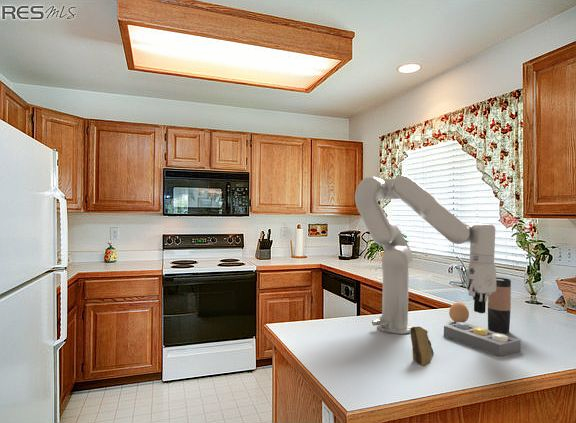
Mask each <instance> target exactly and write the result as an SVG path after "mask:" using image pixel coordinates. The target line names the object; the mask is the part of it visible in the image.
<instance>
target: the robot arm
mask: <svg viewBox="0 0 576 423" xmlns="http://www.w3.org/2000/svg"><path fill="white" fill-rule="evenodd" d="M398 199H399V200H401V201H402V202H403V203H405V204H406V205H407V206H408V207H409V208H410V209H412V211H414V212H415V213H416V214H417V215H419V216H420V217H421V218H422V219H423V220H424V221H426V222H427V223H428V224H429V225H431V227H433V228H434V229H435V230H436V231H437V232H438V233H439V234H441V235H442V236H443V237H445V239H446V240H448V241H449V242H451V243H452V244H454V245H462V244H465V243H469V264H468V267H467V273H466V274H467V275H466V290H467V291H468V295H469V296H470V297H472V299H473V304H474V305H473V311H474V312H475V313H479V314H486V309H487V308H486V306H487V305H486V304H487V302H488V295H491V294H492V293H493V292H495V291H496V277H497V269H496V264H495V249H496V248H495V247H496V246H495V245H496V227H495V225H493V224H489V223H466V222H463V221H461V220H460V219H458V218H457V217H456V216H455V215H454V214H453V213H451V212H450V210H448V209H447V208H446V207H445V206H443V205H442V203H441V202H440V201H439V200H438V199H437V198H436V197H435V196H434V195H432V193H430V192H429V191H428V190H426V189H425V188H424V186H422V185H420V184H419V183H418V182H417V181H416V180H414V178H411V176H410V175H409V176H408V175H405V174H401V175H398V176H396V177H394V178H379V177H376V176H367V177H365V178H363V179H362V180H361V181H360V182H359V183H358V185H357V186H356V189H355V193H354V203H355V206H356V208H357V211H358V213H359V215H360V216H361V219H362V220H363V222H364V225H365V227H366V229H367V232H369V234H370V237H371V239H372V240H373V242H374V243H375V244H377V245H378V246H381V247H382V248H383V250H384V252H383V254H382V258H381V266H382V267H381V269H382V301H381V303H382V304H381V315H380V316H379V318H378V319H375V320H372V321H371V324H372V326H374V327H375V326H377V328H378V329H379V330H380V331H383V332H386V333H389V334H390V333H391V334H396V335H397V334H398V335H402V334H403V335H404V334H409V333H410V334H411V331H410V328H412V326H411V325H409V324H408V323H409V322H408V321H409V319H408V318H409V287H410V286H409V284H410V282H409V279H410V278H409V266H410V265H411V264H412V262H413V252H412V250H411V248H410V246H409V244H408V243H407V241H406V239H405V237H404V236H403V234H402V232H401V230H400V228H399V227H398V226H397V225H396V223H394V222H393V221H389V219H388V218H387V216H386V214H385V212H384V209H383V208H382V206H381V205H380V203H379V202H378V200H398Z"/></svg>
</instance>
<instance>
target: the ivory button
mask: <svg viewBox="0 0 576 423" xmlns="http://www.w3.org/2000/svg"><path fill="white" fill-rule="evenodd" d="M507 336H508V335H505V334H503V333H499V334H492V339H493V340H496V341H499V342H502V343H504V342H508V337H507Z"/></svg>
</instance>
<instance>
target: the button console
mask: <svg viewBox="0 0 576 423" xmlns="http://www.w3.org/2000/svg"><path fill="white" fill-rule="evenodd" d="M468 324H469V329H467V330H463V329H460V328H457V327H456V323H453V324H447V325H443V337H446V338H449V339H450V340H451V339H452V340H455V341H456V342H460V343H462V344H464V345H468V346H470V347H473V348H476V349H479V350H481V351H484V352H487V353H489V354H492V355H495V356H497V357H503V356H507V355H510V354H515V353H519V352H521V350H522V349H521V347H522V346H521V345H522V340H521V339H518V338H515V337H511V336H509V335H506V336H507V337H508V342H504V343H502V342H499V341H496V340H493V339H492V334H500V333H496V332H493V331H490V330H488V329H487V330H488V335H485V336H481V335H478V334H475V333H473V328H481V327H479V326H477V325H473V324H470V323H468Z"/></svg>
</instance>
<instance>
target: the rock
mask: <svg viewBox="0 0 576 423" xmlns="http://www.w3.org/2000/svg"><path fill="white" fill-rule="evenodd" d="M411 327H412V326H411ZM410 331H411V332H410V340H411V346H412V347H411V348H412V351H411V352H412V360H413V361H414V363H415V362H416V364H418V365H420V366H422V367H425V365H427V364H430V363H431V361H432V358H433V357H432V356H433V355H434V354H435V352H434V349H433V347H432V342H431V340H430V339H429V335H428V333H429V331H428V330H427V329H425V328H423V327H421V326H413V327H412V328H410Z"/></svg>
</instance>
